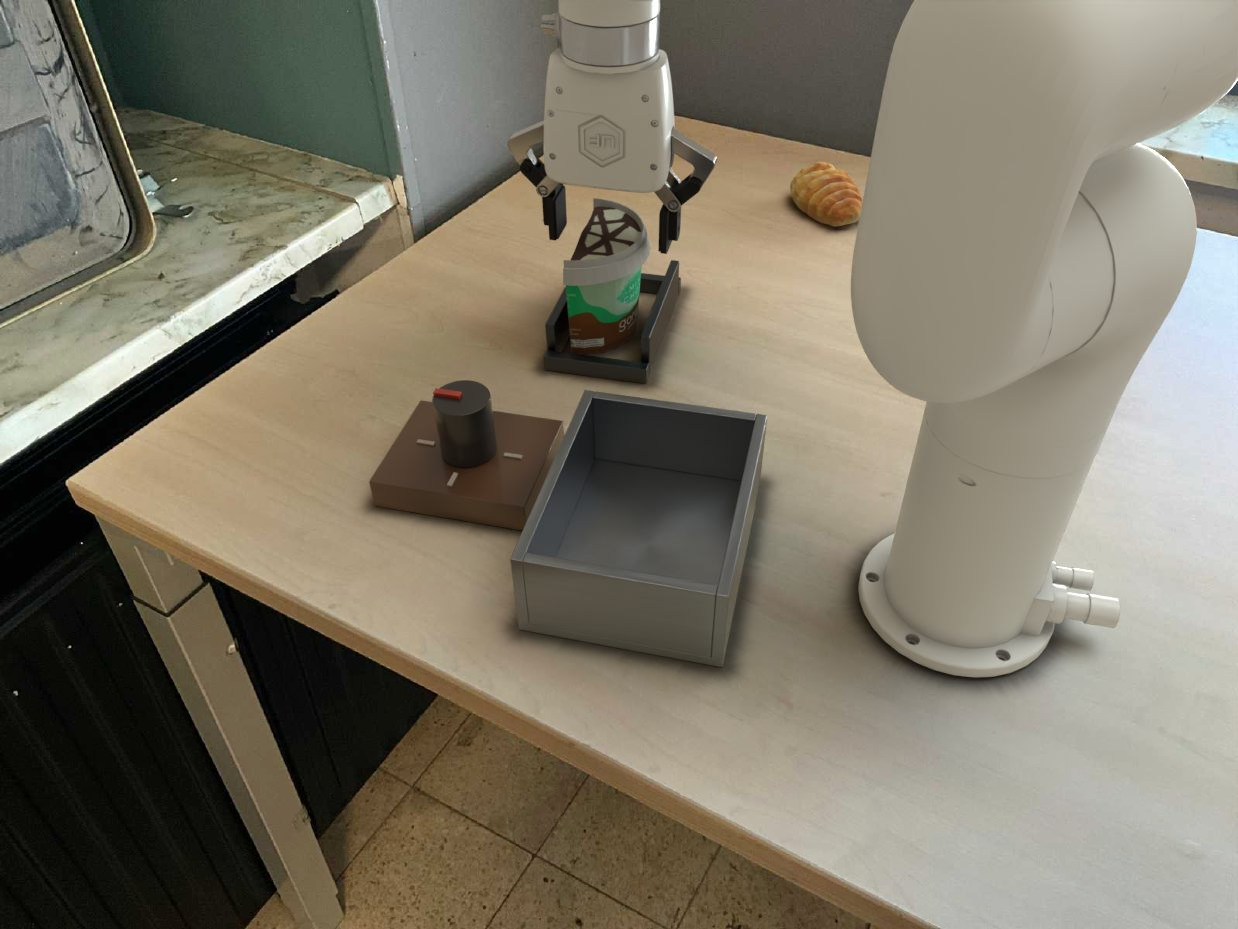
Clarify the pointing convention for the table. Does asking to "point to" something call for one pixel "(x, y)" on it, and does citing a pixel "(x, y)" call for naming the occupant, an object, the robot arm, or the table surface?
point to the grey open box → (642, 527)
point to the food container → (605, 278)
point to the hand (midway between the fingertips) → (611, 239)
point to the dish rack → (608, 367)
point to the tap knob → (465, 423)
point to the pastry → (826, 194)
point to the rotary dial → (468, 471)
